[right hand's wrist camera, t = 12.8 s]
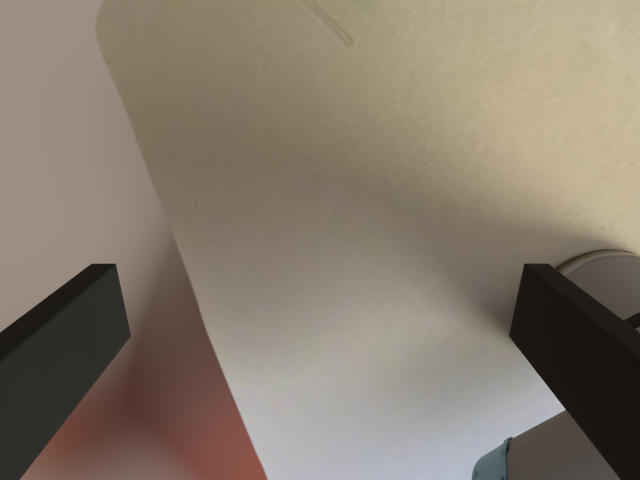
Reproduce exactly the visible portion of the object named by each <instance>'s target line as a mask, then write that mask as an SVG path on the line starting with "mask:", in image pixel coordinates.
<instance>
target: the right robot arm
mask: <svg viewBox="0 0 640 480" xmlns="http://www.w3.org/2000/svg"><path fill="white" fill-rule="evenodd" d="M130 337H131V334H130V329H129V325H128V320H127V315H126V310H125V306H124V301H123V296H122V291H121V287H120V282H119V277H118V272H117V268H116V264H91V265H90V266H88V267H87V268H86V269H84V270H83V271H82V272H80V273H79V274H78V275H76V276H75V277H74V278H72V279H71V280H70V281H68V282H67V283H66V284H64V285H63V286H62V287H60V288H59V289H58V290H56V291H55V292H54V293H52V294H51V295H50V296H48V297H47V298H46V299H44V300H43V301H42V302H40V303H39V304H38V305H36V306H35V307H34V308H32V309H31V310H30V311H28V312H27V313H26V314H24V315H23V316H22V317H20V318H19V319H18V320H16V321H15V322H14V323H12V324H11V325H10V326H8V327H7V328H6V329H4V330H3V331H2V332H0V480H20V478H21V477H22V476H23V474H24V473H25V472H26V471H27V469H28V468H29V467H30V466H31V464H32V463H33V462H34V460H35V459H36V458H37V456H38V455H39V454H40V453H41V451H42V450H43V449H44V448H45V446H46V445H47V444H48V442H49V441H50V440H51V439H52V437H53V436H54V435H55V433H56V432H57V431H58V429H59V428H60V427H61V426H62V424H63V423H64V422H65V420H66V419H67V418H68V416H69V415H70V414H71V413H72V411H73V410H74V409H75V408H76V406H77V405H78V404H79V402H80V401H81V400H82V399H83V397H84V396H85V395H86V393H87V392H88V391H89V389H90V388H91V387H92V386H93V384H94V383H95V382H96V380H97V379H98V378H99V377H100V375H101V374H102V373H103V371H104V370H105V369H106V368H107V366H108V365H109V364H110V362H111V361H112V360H113V359H114V357H115V356H116V355H117V353H118V352H119V351H120V350H121V348H122V347H123V346H124V344H125V343H126V342H127V340H128V339H129V338H130ZM509 337H510V338H511V339H512V341H513V342H514V343H515V344H516V346H517V347H518V348H519V350H520V351H521V352H522V353H523V355H524V356H525V357H526V359H527V360H528V361H529V362H530V364H531V365H532V366H533V368H534V369H535V370H536V371H537V373H538V374H539V375H540V377H541V378H542V379H543V380H544V382H545V383H546V384H547V386H548V387H549V388H550V390H551V391H552V392H553V393H554V395H555V396H556V397H557V399H558V400H559V401H560V402H561V404H562V405H563V406H564V408H565V409H566V410H565V411H563V412H561V413H560V414H558V415H556V416H554V417H552V418H550V419H548V420H546V421H545V422H543V423H541V424H539V425H537V426H535V427H533V428H532V429H530V430H528V431H526V432H524V433H522V434H520V435H518V436H517V437H515V438H512V437H510V438H507V439H506V440H505V441H504V443H503V444H502V445H500V446H499V447H497V448H496V449H494V450H492V451H491V452H489V453H488V454H486V455H484V456H483V457H481V458H480V459H479V460H478V461H477V463H476V464H475V466H474V469H473V473H472V480H640V256H638V255H636V254H633V253H629V252H625V251H618V250H606V251H598V252H593V253H589V254H586V255H583V256H580V257H578V258H575V259H573V260H571V261H569V262H567V263H566V264H564V265H562V266H561V267H559V268H558V269H557V270H556V269H554V268H553V267H552V266H550V265H549V264H524V268H523V272H522V277H521V282H520V287H519V291H518V296H517V301H516V306H515V310H514V315H513V320H512V325H511V329H510V334H509Z"/></svg>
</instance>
